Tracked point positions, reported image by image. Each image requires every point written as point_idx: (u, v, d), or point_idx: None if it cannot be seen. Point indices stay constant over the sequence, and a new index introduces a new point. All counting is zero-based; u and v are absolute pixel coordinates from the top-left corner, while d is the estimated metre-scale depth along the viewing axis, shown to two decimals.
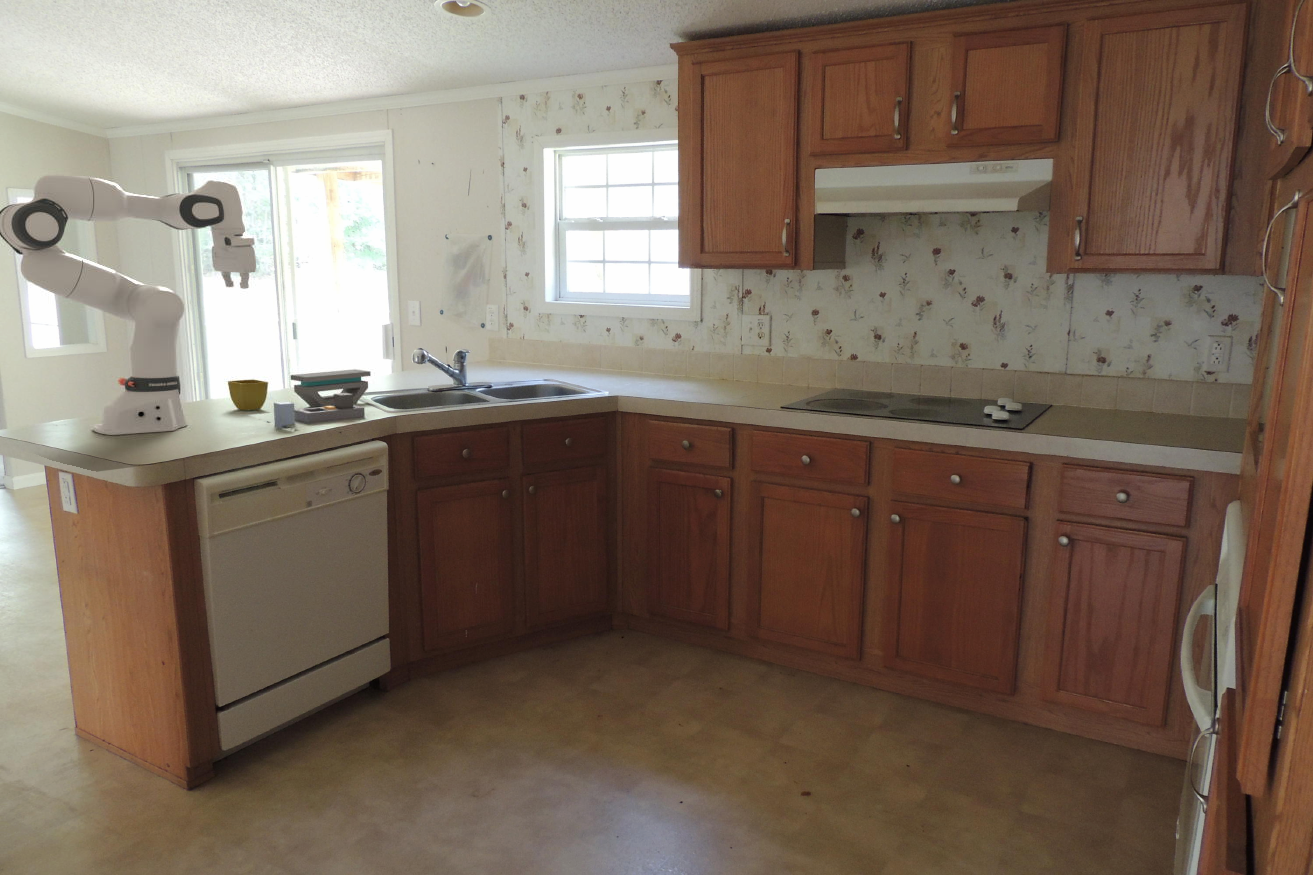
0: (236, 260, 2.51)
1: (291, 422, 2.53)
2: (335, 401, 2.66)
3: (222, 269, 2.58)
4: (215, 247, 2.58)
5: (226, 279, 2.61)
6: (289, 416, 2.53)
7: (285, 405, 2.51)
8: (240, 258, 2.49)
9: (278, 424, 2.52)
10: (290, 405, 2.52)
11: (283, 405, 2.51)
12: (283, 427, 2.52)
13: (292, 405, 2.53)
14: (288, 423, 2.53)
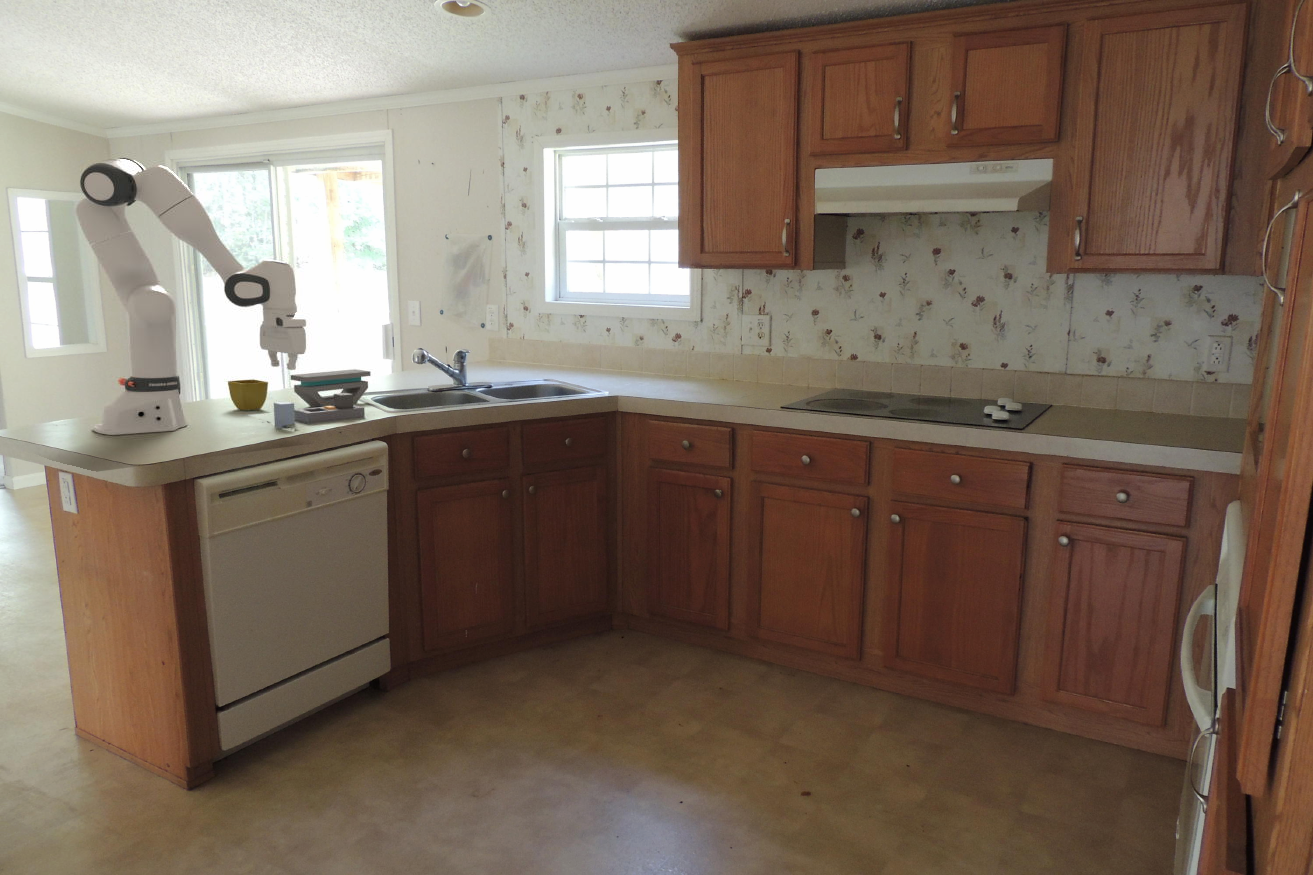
0: (286, 340, 2.44)
1: (291, 422, 2.53)
2: (335, 401, 2.66)
3: (269, 348, 2.51)
4: (264, 325, 2.52)
5: (272, 358, 2.54)
6: (289, 416, 2.53)
7: (285, 405, 2.51)
8: (291, 339, 2.42)
9: (278, 424, 2.52)
10: (290, 405, 2.52)
11: (283, 405, 2.51)
12: (283, 427, 2.52)
13: (292, 405, 2.53)
14: (288, 423, 2.53)
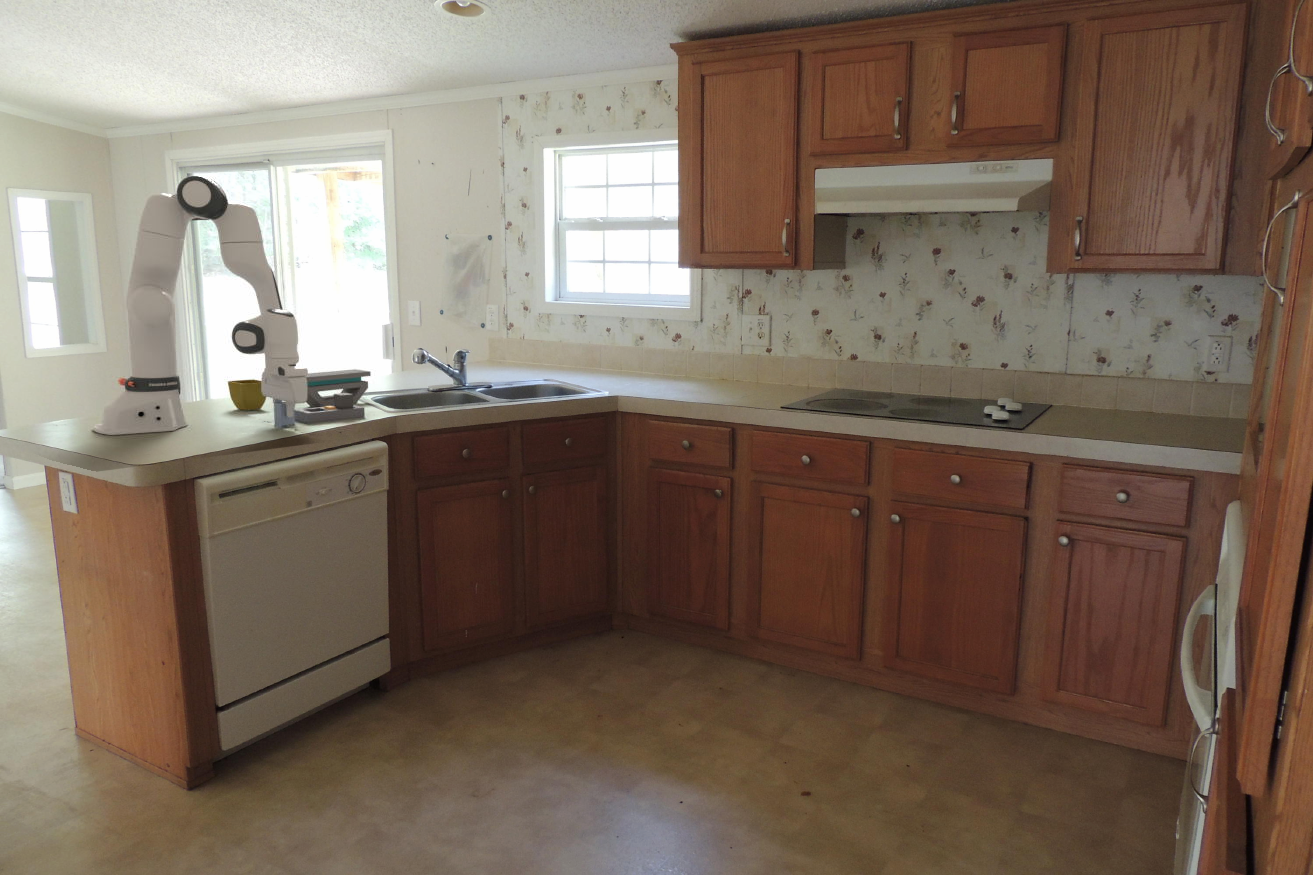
0: (288, 389, 2.47)
1: (291, 422, 2.53)
2: (335, 401, 2.66)
3: (271, 396, 2.54)
4: (266, 373, 2.54)
5: None
6: None
7: (285, 405, 2.51)
8: (292, 389, 2.44)
9: (278, 424, 2.52)
10: None
11: (283, 405, 2.51)
12: (283, 427, 2.52)
13: None
14: (288, 423, 2.53)
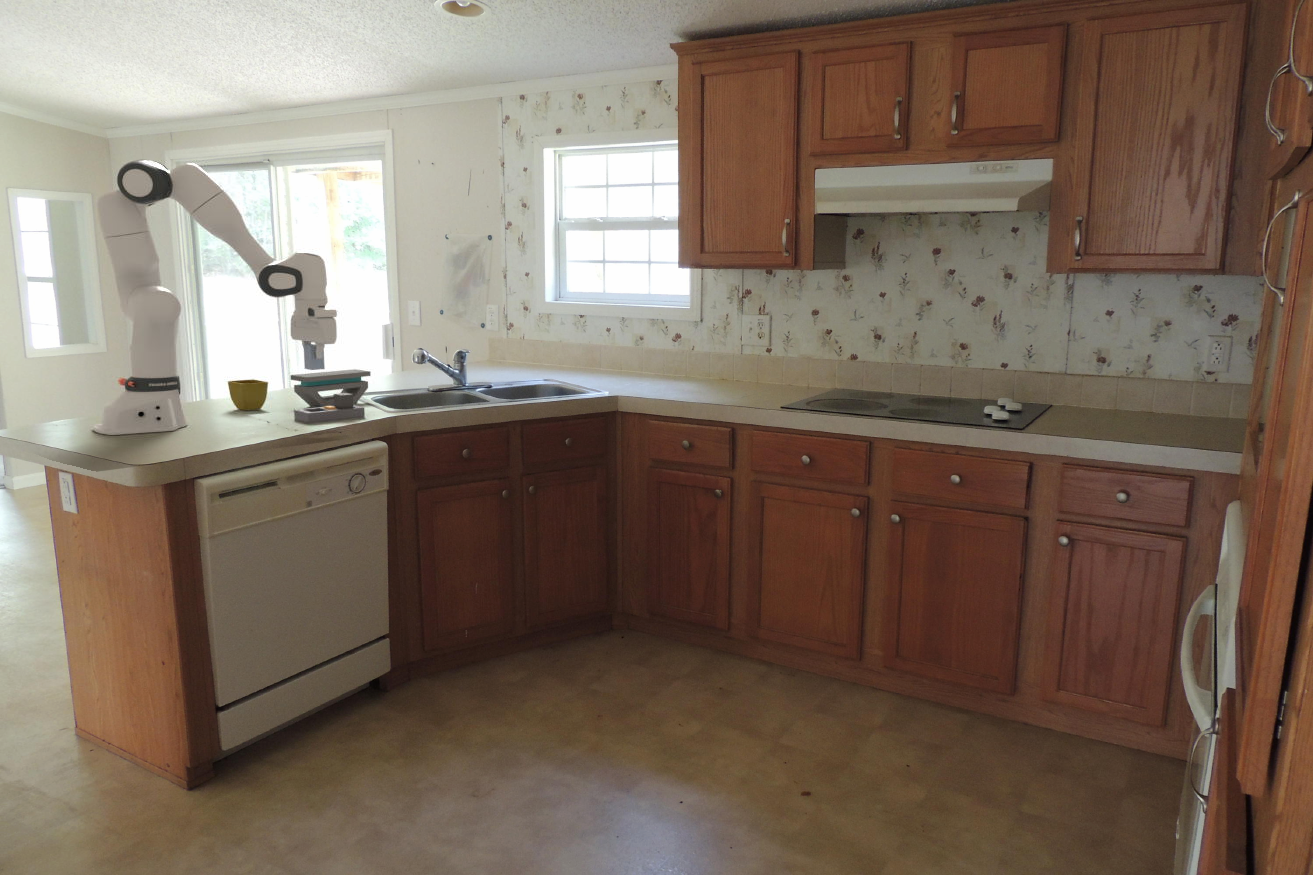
0: (317, 330, 2.51)
1: (321, 364, 2.57)
2: (335, 401, 2.66)
3: (300, 338, 2.58)
4: (295, 316, 2.58)
5: None
6: None
7: (315, 347, 2.55)
8: (322, 329, 2.48)
9: (308, 365, 2.56)
10: None
11: (313, 346, 2.55)
12: (313, 368, 2.56)
13: None
14: (318, 365, 2.57)
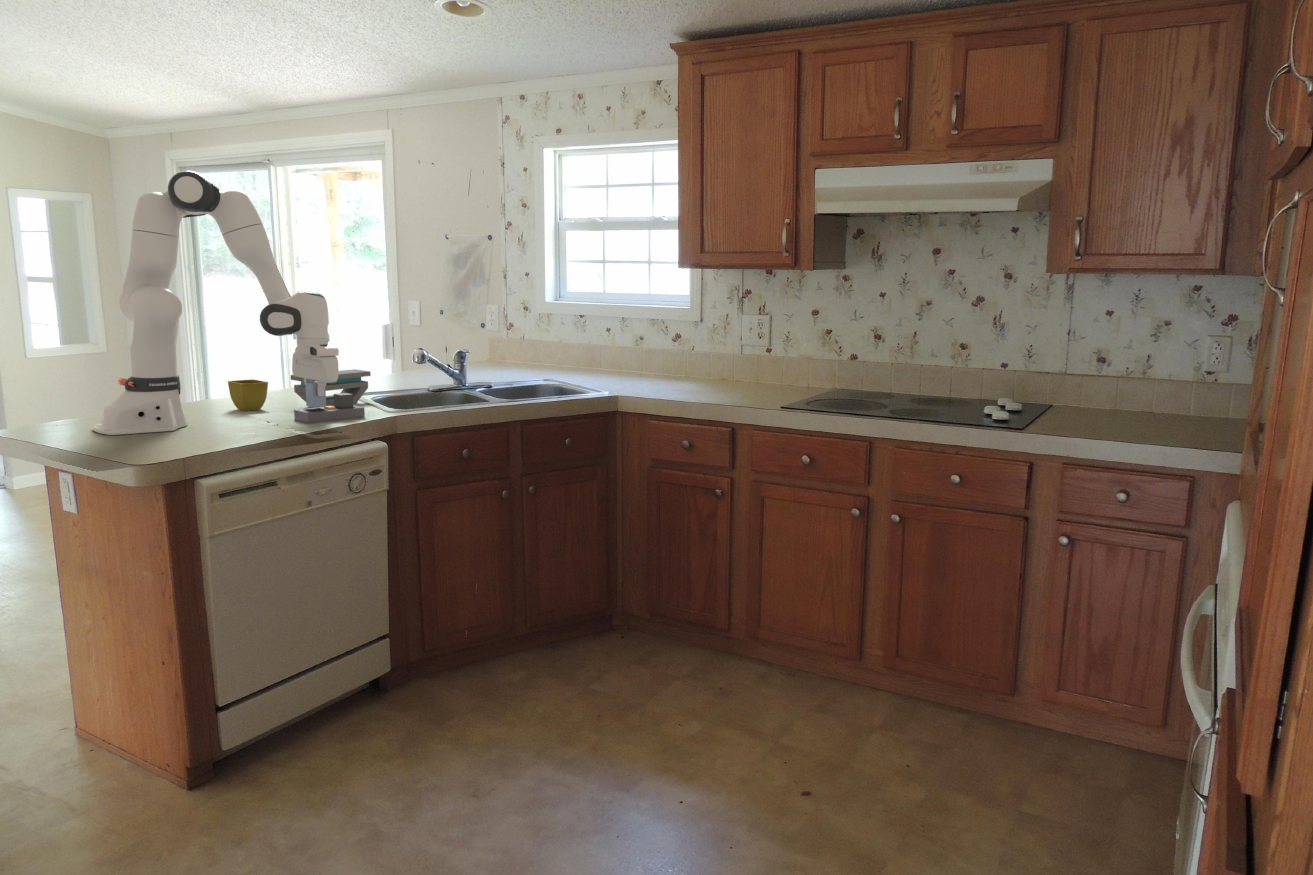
0: (319, 369, 2.53)
1: (322, 401, 2.60)
2: (335, 401, 2.66)
3: (302, 375, 2.60)
4: (297, 353, 2.60)
5: None
6: None
7: (317, 384, 2.58)
8: (324, 368, 2.51)
9: (310, 403, 2.59)
10: None
11: (315, 384, 2.57)
12: (315, 406, 2.58)
13: None
14: (319, 402, 2.59)
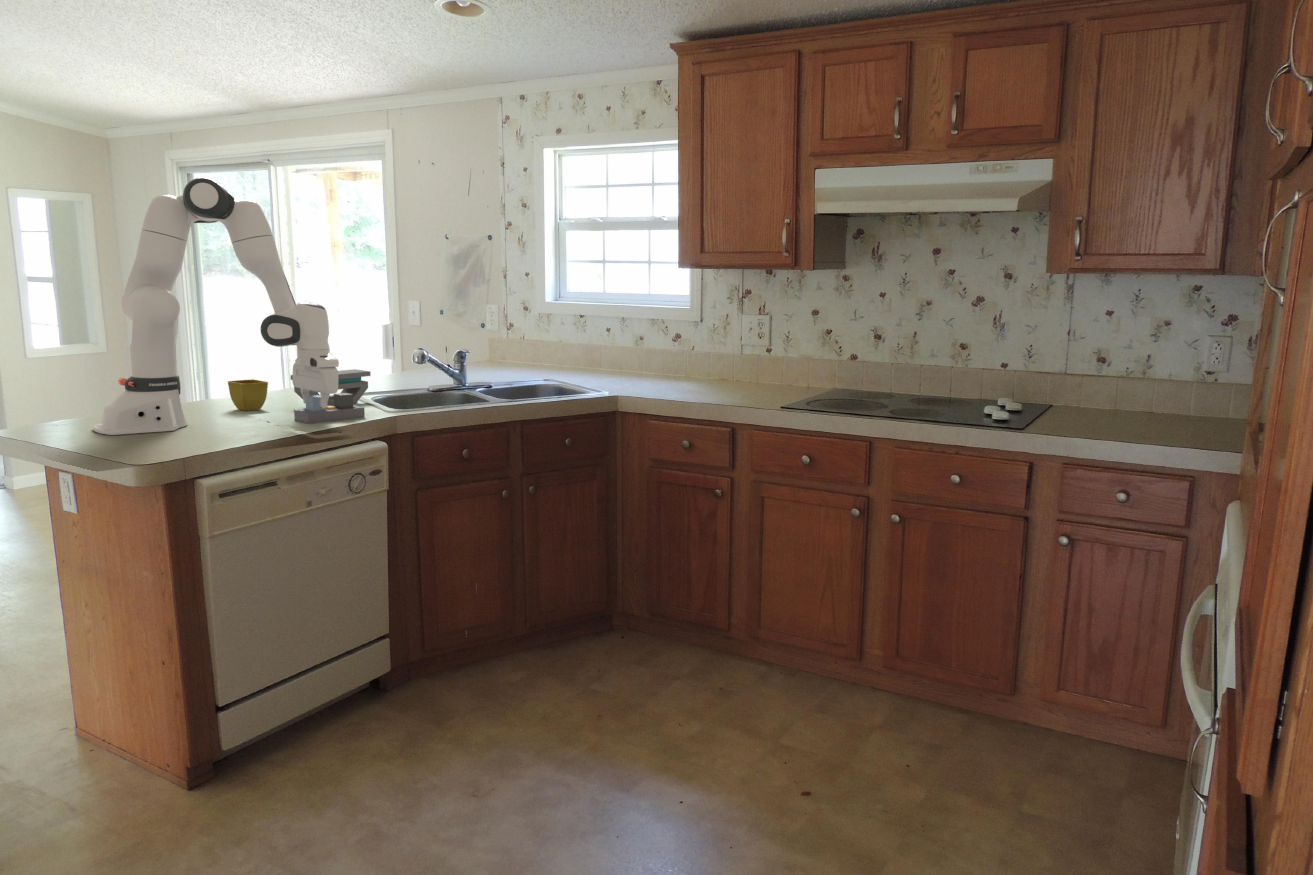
0: (319, 380, 2.54)
1: None
2: (335, 401, 2.66)
3: (302, 386, 2.60)
4: (297, 364, 2.61)
5: None
6: (320, 410, 2.60)
7: (317, 398, 2.58)
8: (324, 380, 2.51)
9: None
10: None
11: (315, 398, 2.58)
12: None
13: None
14: None
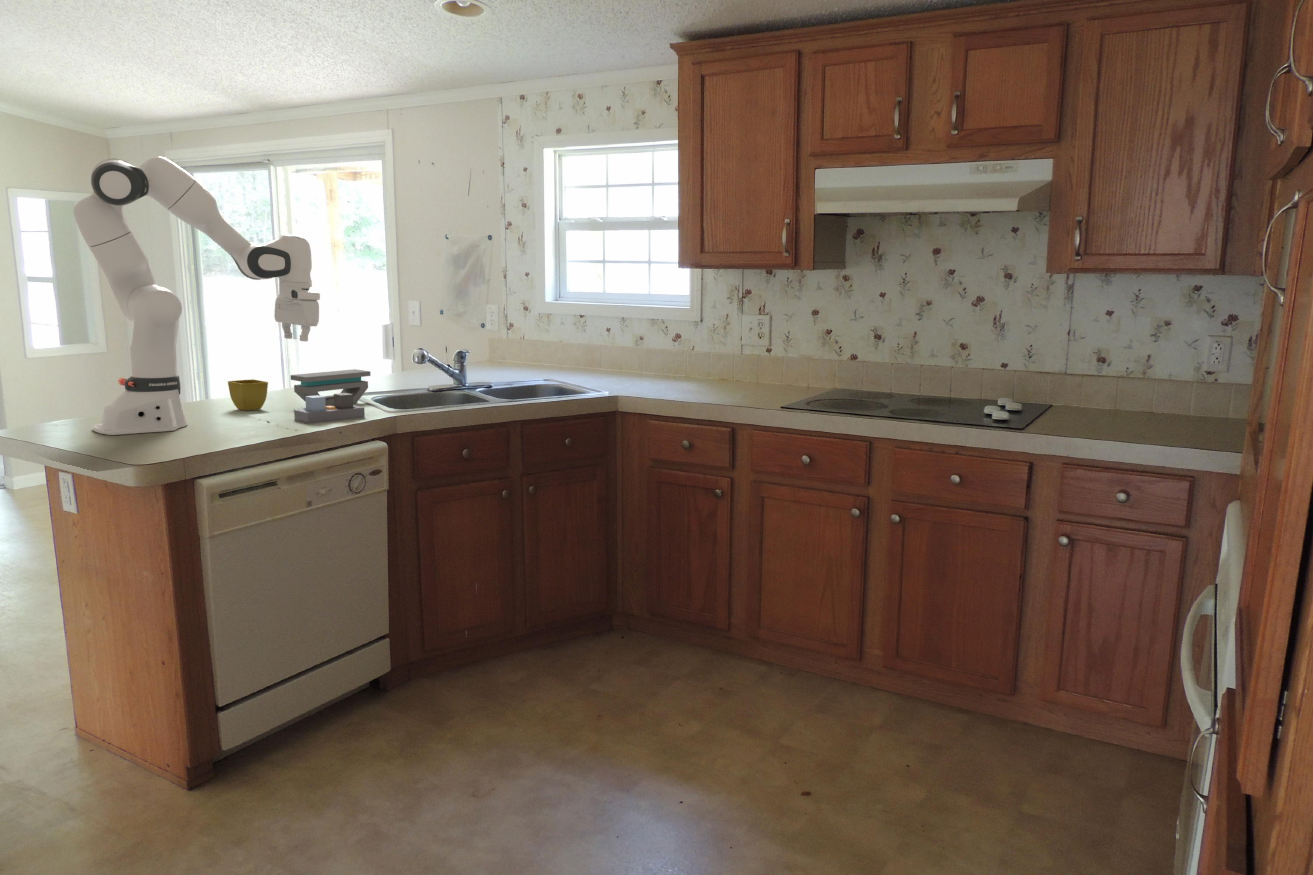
0: (300, 312, 2.54)
1: None
2: (335, 401, 2.66)
3: (283, 320, 2.61)
4: (279, 299, 2.61)
5: (286, 330, 2.63)
6: (320, 410, 2.60)
7: (317, 398, 2.58)
8: (304, 311, 2.51)
9: None
10: (321, 398, 2.59)
11: (315, 398, 2.58)
12: None
13: (323, 398, 2.60)
14: None
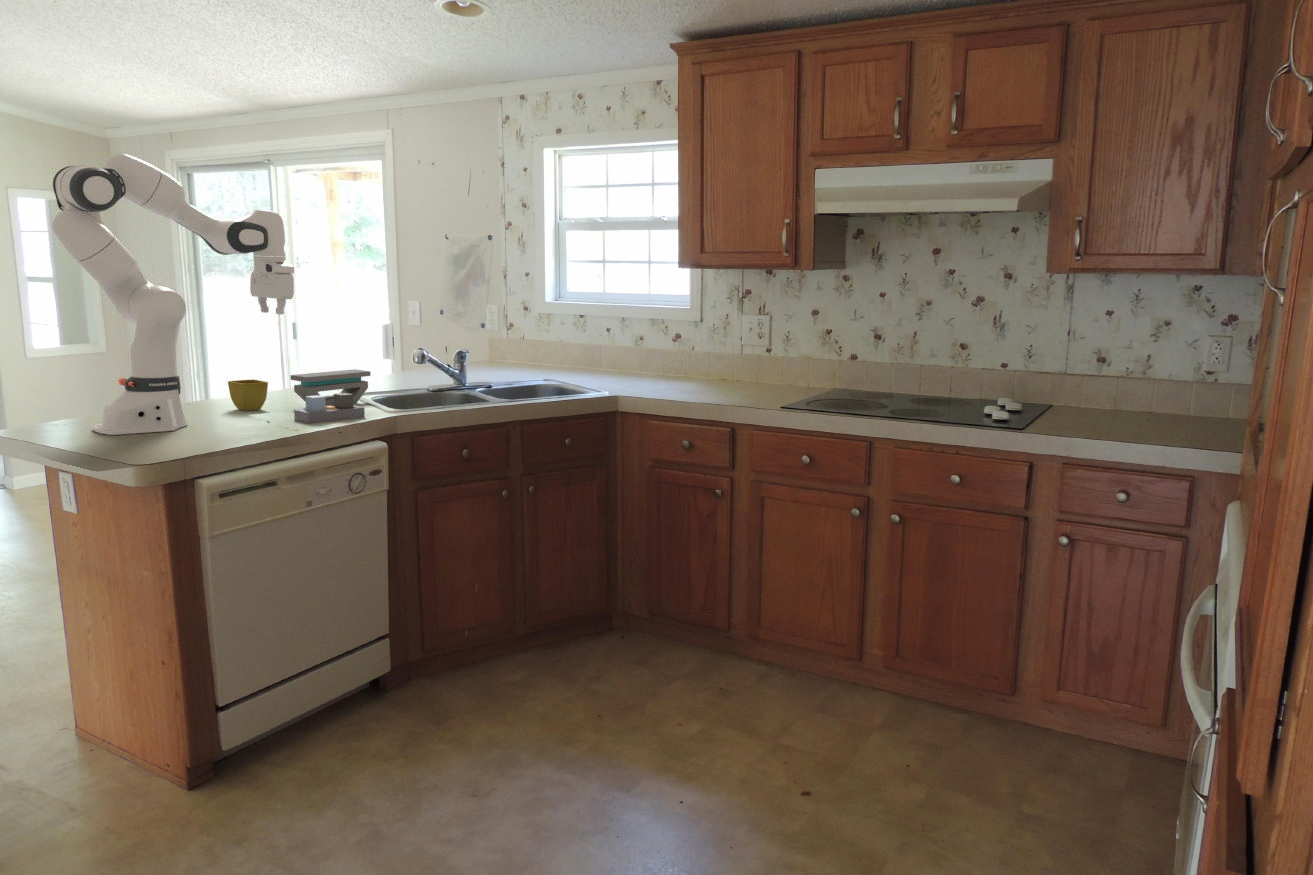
0: (275, 286, 2.59)
1: None
2: (335, 401, 2.66)
3: (259, 295, 2.66)
4: (255, 273, 2.66)
5: (262, 304, 2.68)
6: (320, 410, 2.60)
7: (317, 398, 2.58)
8: (279, 284, 2.57)
9: None
10: (321, 398, 2.59)
11: (315, 398, 2.58)
12: None
13: (323, 398, 2.60)
14: None
